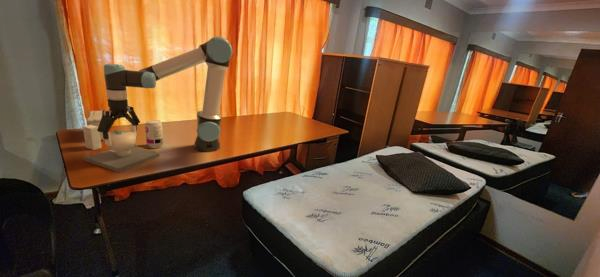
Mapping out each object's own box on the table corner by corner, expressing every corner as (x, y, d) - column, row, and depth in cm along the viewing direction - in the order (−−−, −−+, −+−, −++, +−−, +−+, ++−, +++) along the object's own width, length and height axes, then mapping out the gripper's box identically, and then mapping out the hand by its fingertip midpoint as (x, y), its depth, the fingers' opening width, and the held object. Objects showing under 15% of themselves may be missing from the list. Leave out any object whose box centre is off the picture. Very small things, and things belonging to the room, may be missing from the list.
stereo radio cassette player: (92, 130, 149) (87, 99, 143) (109, 130, 154) (105, 99, 147) (89, 142, 133) (83, 107, 127) (107, 141, 138) (103, 107, 132)
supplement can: (146, 149, 135) (144, 123, 130) (147, 143, 141) (145, 119, 137) (162, 148, 138) (161, 123, 134) (163, 143, 145) (161, 119, 140)
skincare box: (102, 147, 129) (99, 126, 125) (93, 150, 125) (90, 128, 121) (94, 145, 131) (91, 124, 127) (85, 147, 127) (82, 126, 123)
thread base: (159, 156, 128) (158, 144, 126) (118, 172, 108) (117, 159, 106) (128, 147, 134) (127, 136, 132) (84, 160, 114) (82, 147, 112)
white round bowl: (141, 145, 122) (140, 132, 120) (120, 151, 112) (118, 137, 110) (125, 140, 125) (123, 127, 123) (103, 146, 115) (101, 132, 113)
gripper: (134, 94, 124) (137, 132, 130) (82, 100, 100) (89, 147, 107) (146, 96, 122) (149, 135, 129) (96, 103, 99) (103, 150, 106)
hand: (122, 140), depth 118 cm, fingers open, 13 cm apart
